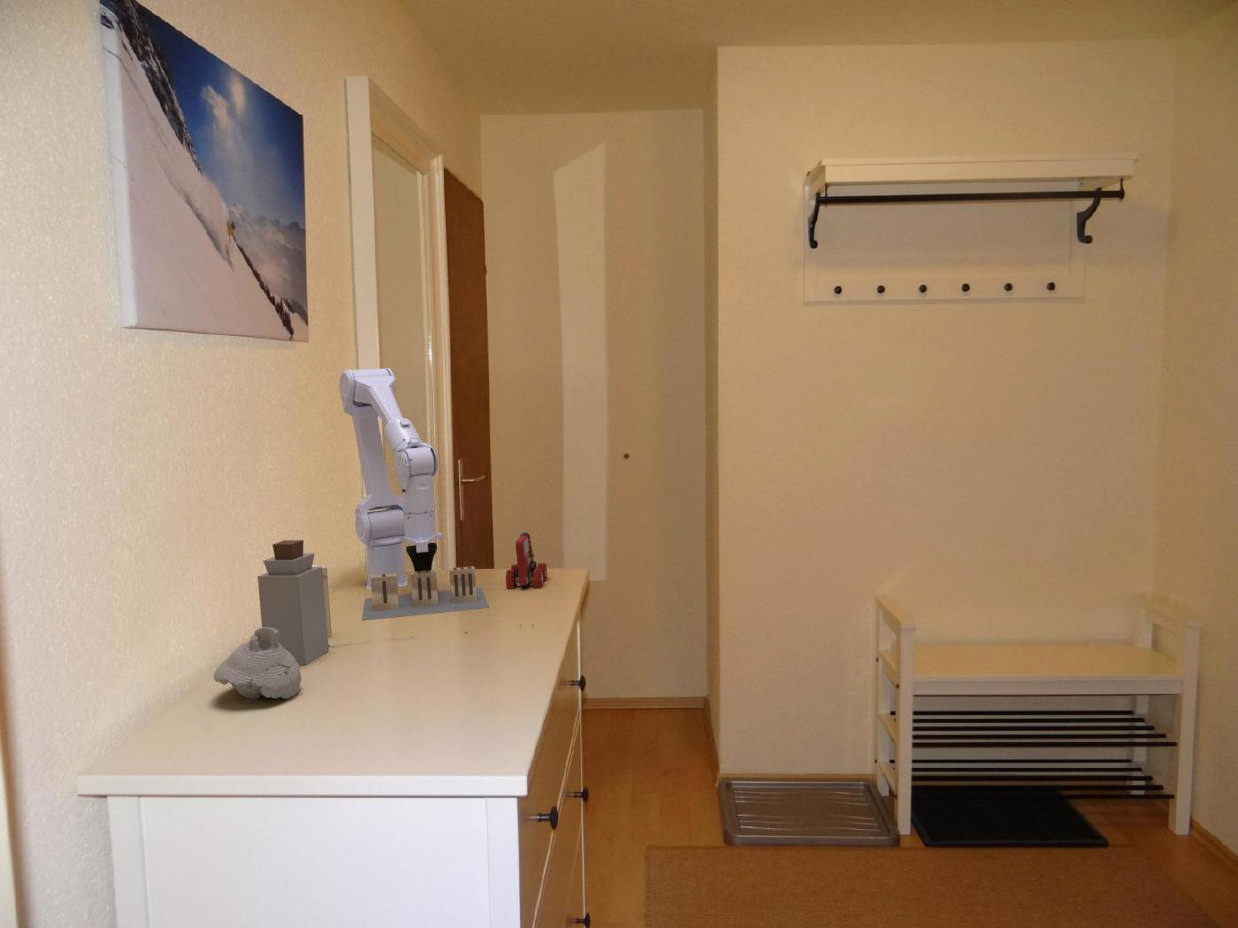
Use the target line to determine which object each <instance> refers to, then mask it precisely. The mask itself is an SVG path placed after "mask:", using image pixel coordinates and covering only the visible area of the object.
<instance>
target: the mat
mask: <svg viewBox="0 0 1238 928" xmlns="http://www.w3.org/2000/svg"><path fill="white" fill-rule="evenodd" d="M437 594H438V604H437V605H427V606H417V607H413V600H412V593H410V594H409V593H408V594H398V601H399V608H396V609H386V610H376V611H373V602H372V597H369V598H368V597H367V598H364V602H363V608H362V610H363V611H362V617H361V621H373V620H383V619H392V618H394V619H395V618H402V617H411V616H422V615H432V614H443V613H451V612H452V613H453V612H454V613H455V612H462V611H470V610H471V611H472V610H473V611H474V610H482V609H490V606H489V603H488V601H487V597H486V595H485V593H484V590H483V588H482V587H481V586H480V587H476V595H477V601H467V602H457V603H452V601H451V589H450V590H442V591H441V590H440V591H437Z"/></svg>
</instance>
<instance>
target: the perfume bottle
mask: <svg viewBox="0 0 1238 928" xmlns="http://www.w3.org/2000/svg"><path fill="white" fill-rule="evenodd" d="M272 549H273V555H274V556H271V557H269V558H267V559H264V560H263V561H262V562H263V564H264V566H265V567H264V568H265V569H266V571H267V572H265V573H263V574H260V575H258V576H257V583H258V596H259V609H260V620H261V628H263V627H270V628H274V629H276V630H278V631H279V639H278V641H277V642H278V643H279V644H280V645H281V646H282V647H283V648H284V649H285V650H287V651H288V652H290V653H291V654H292V655H293V657H294V658H295V660H296V661H297V663H298V665H299V666H307V665H309V664H310V663H311V662H312V663H313V662H314V661H315V660H317V659H319V658H320V657H321V656H324V655H325V654H327V653H328V652H329V651H330V650H329V637H328V635H327V622H326V610H325V597H324V584H323V571H322V567H312V565H314V559H315V552H314V553H313V552H304V540H303V539H302V540H301V539H296V540H295V539H294V540H293V539H290V540H289V539H286V540H285V539H284V540H281V541H279V542H275V543H273V544H272Z"/></svg>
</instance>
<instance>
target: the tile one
mask: <svg viewBox="0 0 1238 928" xmlns="http://www.w3.org/2000/svg"><path fill="white" fill-rule="evenodd" d="M398 588H399V586H397V573H395V574H382V575H373V576H371V589H370V590H371V598H372V602H373V611H376V610H386V609H396V608H399V601H398V595H399V589H398Z"/></svg>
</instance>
